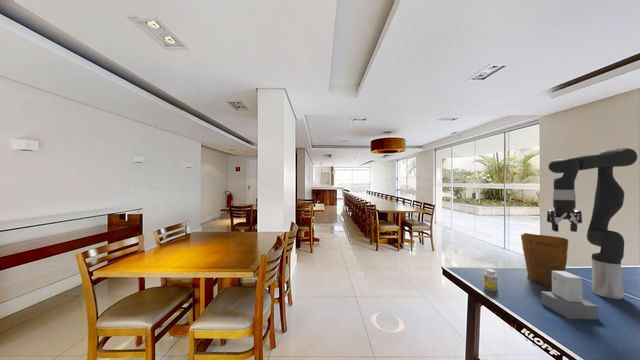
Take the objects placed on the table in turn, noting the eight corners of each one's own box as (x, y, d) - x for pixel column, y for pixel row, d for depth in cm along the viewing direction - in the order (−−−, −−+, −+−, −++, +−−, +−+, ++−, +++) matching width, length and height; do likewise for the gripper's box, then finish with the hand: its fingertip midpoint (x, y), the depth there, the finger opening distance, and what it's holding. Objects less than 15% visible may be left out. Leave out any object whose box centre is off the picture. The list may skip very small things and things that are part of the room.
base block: (567, 304, 105) (567, 291, 105) (598, 320, 93) (598, 305, 93) (541, 304, 105) (540, 291, 105) (568, 319, 93) (568, 305, 93)
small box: (582, 302, 95) (582, 278, 95) (568, 301, 96) (568, 277, 96) (564, 293, 103) (564, 270, 103) (551, 292, 104) (551, 270, 104)
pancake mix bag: (566, 293, 116) (566, 239, 116) (520, 279, 133) (520, 231, 133) (571, 290, 119) (570, 237, 119) (526, 276, 136) (525, 230, 136)
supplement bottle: (484, 286, 123) (484, 267, 123) (497, 289, 120) (497, 270, 120) (484, 289, 119) (483, 270, 119) (497, 292, 115) (497, 273, 116)
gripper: (570, 198, 114) (571, 230, 114) (541, 198, 115) (542, 229, 114) (587, 199, 107) (588, 233, 106) (556, 199, 107) (557, 232, 107)
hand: (564, 231), depth 110 cm, fingers open, 8 cm apart
